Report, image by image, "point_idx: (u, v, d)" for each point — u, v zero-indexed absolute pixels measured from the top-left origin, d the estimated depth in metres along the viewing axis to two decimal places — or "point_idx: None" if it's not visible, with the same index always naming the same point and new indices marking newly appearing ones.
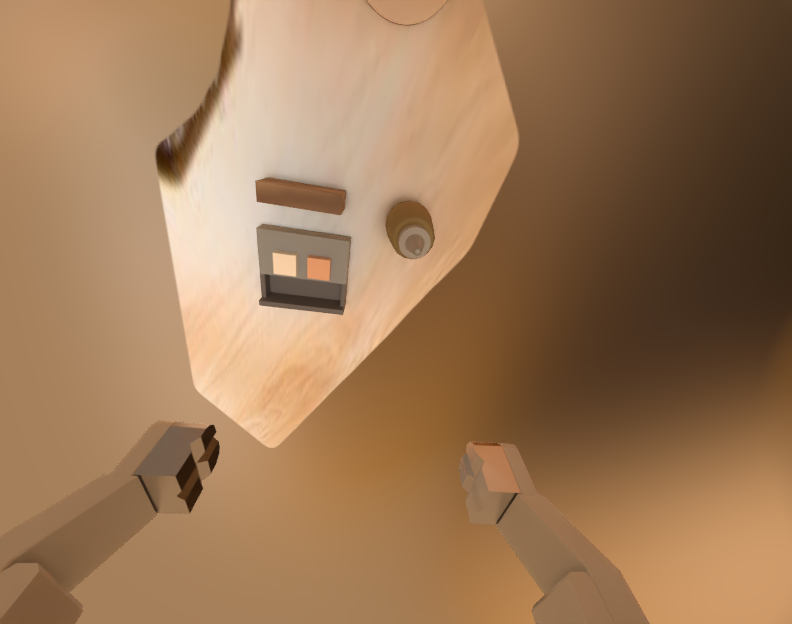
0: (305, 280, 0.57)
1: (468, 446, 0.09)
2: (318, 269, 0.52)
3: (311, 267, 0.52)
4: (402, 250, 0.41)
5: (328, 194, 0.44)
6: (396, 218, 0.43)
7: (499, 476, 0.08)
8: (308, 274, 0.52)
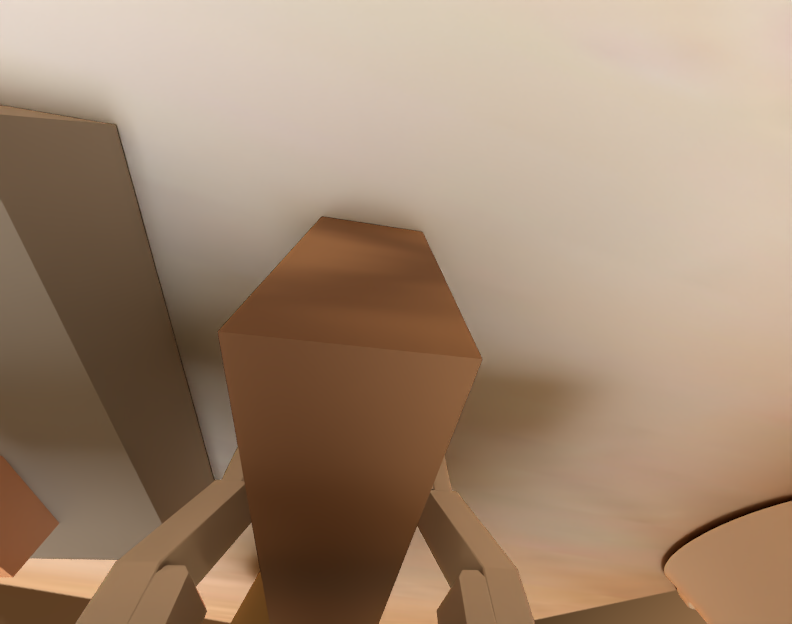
0: None
1: None
2: None
3: None
4: None
5: None
6: None
7: None
8: None
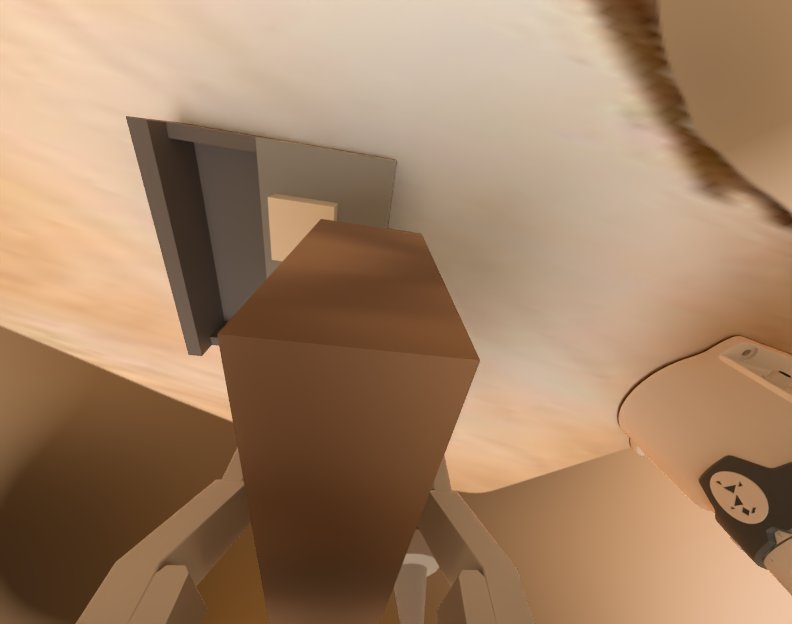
0: (258, 247, 0.23)
1: None
2: None
3: None
4: None
5: None
6: None
7: None
8: None
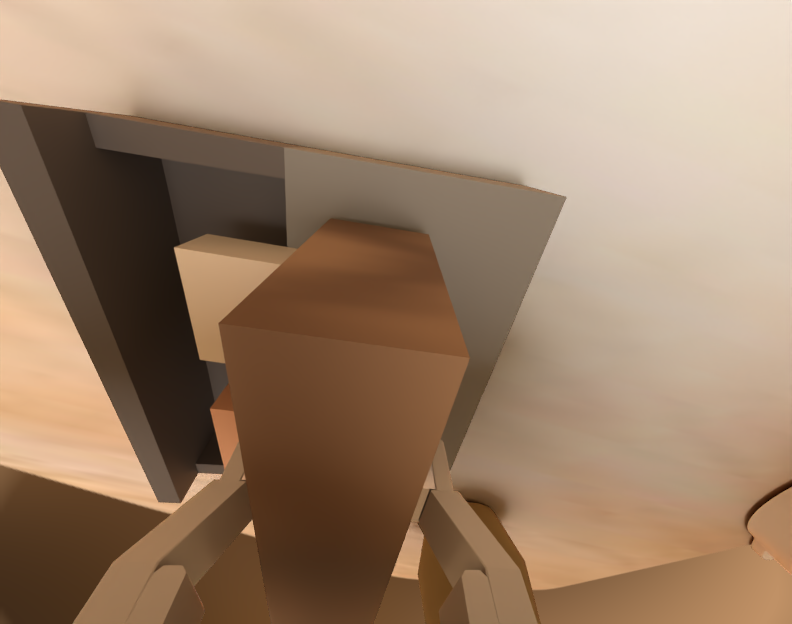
0: None
1: None
2: None
3: None
4: None
5: None
6: None
7: None
8: (230, 413, 0.11)
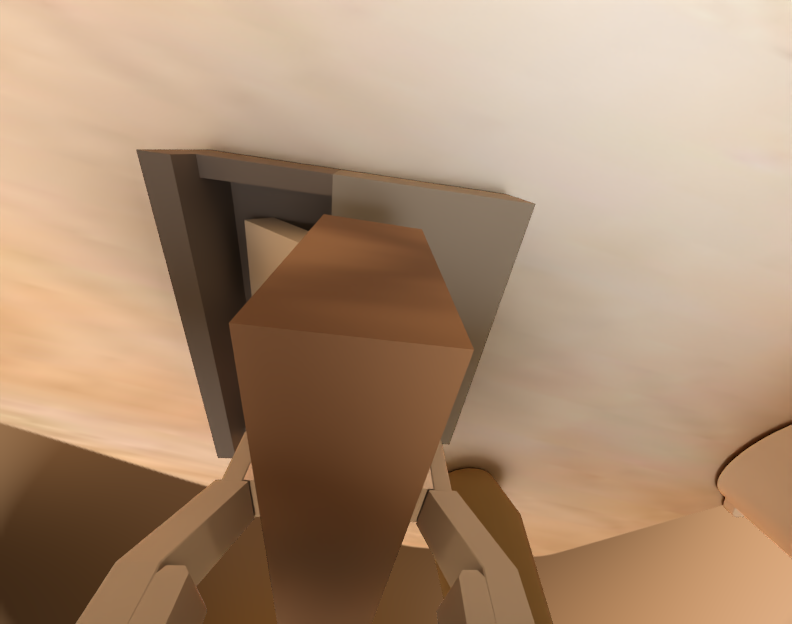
0: None
1: None
2: None
3: None
4: None
5: (367, 619, 0.09)
6: (543, 611, 0.18)
7: None
8: None
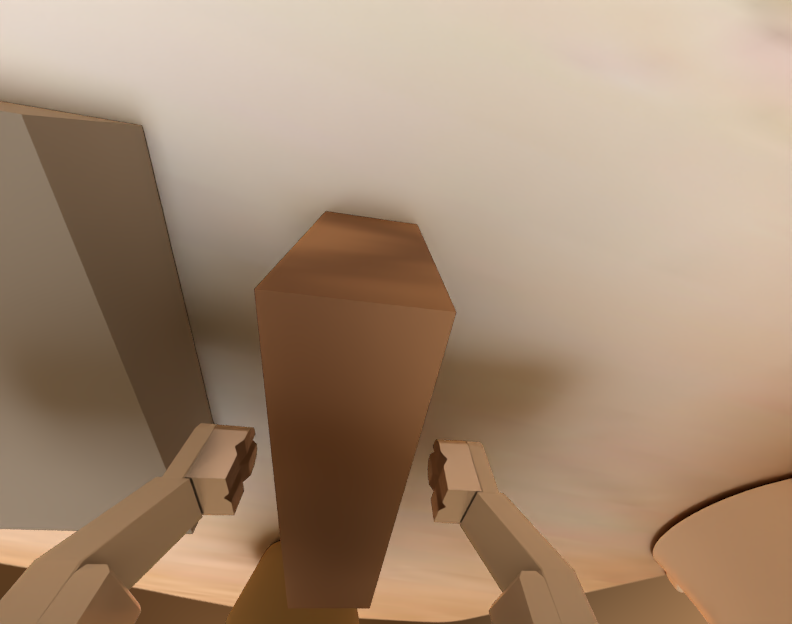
0: None
1: (434, 444, 0.09)
2: None
3: None
4: None
5: (370, 587, 0.10)
6: None
7: (461, 474, 0.08)
8: None
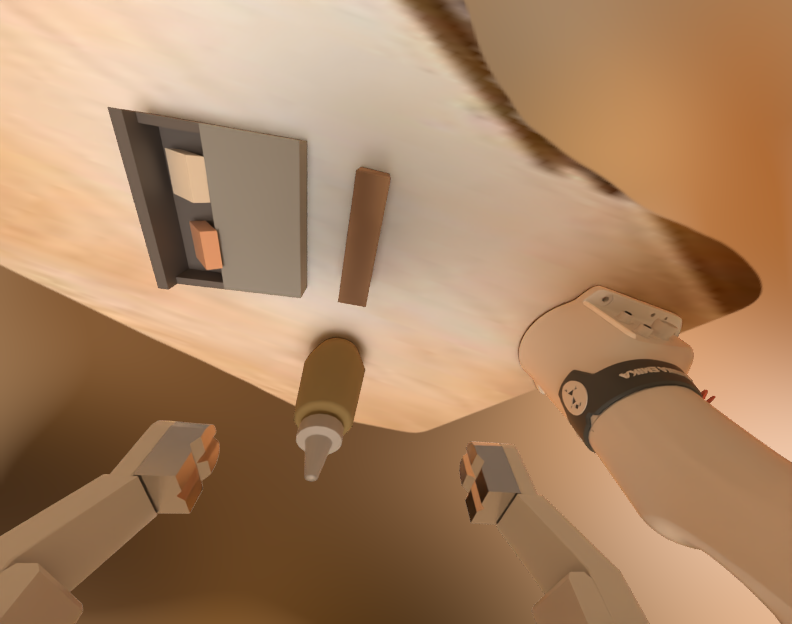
0: (210, 208, 0.30)
1: (468, 446, 0.09)
2: (197, 245, 0.30)
3: (195, 233, 0.29)
4: (306, 430, 0.28)
5: (367, 289, 0.30)
6: (346, 389, 0.32)
7: (499, 476, 0.08)
8: (191, 224, 0.30)
